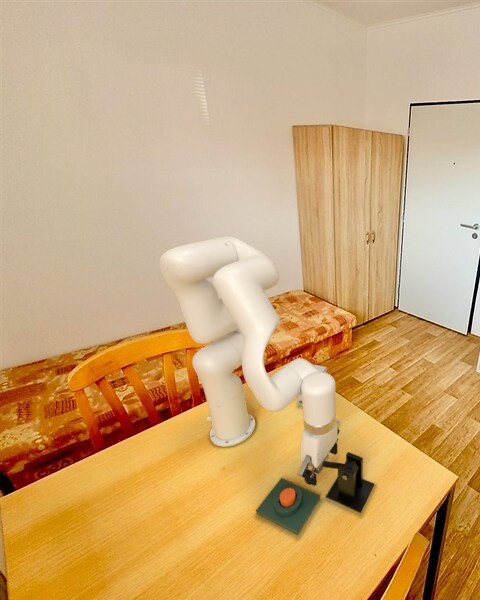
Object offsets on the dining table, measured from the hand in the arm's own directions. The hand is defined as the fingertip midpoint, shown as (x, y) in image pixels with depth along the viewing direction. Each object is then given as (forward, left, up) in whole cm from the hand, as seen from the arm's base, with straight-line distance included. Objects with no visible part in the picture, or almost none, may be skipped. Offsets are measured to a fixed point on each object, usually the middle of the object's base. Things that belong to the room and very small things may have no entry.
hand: (321, 466), depth 83 cm
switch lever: (+5, 0, +2) cm, 6 cm away
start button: (-3, -10, -2) cm, 10 cm away
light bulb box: (-20, +25, -6) cm, 33 cm away
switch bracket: (+9, 0, -6) cm, 10 cm away
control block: (-3, -10, -6) cm, 12 cm away
